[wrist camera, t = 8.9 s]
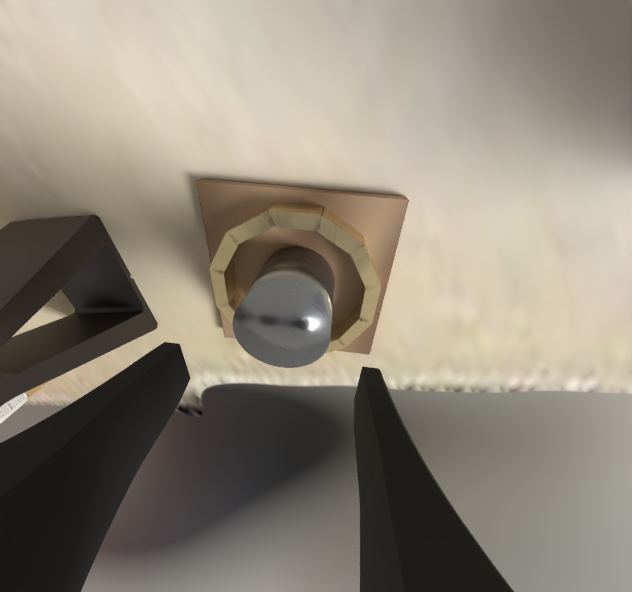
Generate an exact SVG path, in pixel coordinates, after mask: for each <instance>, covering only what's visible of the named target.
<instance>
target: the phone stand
mask: <svg viewBox="0 0 632 592" xmlns="http://www.w3.org/2000/svg"><path fill="white" fill-rule="evenodd" d="M130 275H131V274H130V272H129V270H128V269H127V267H126V265H125V263H124V261H123V260H122V258H121V256H120V254H119V252H118V250H117V249H116V247H115V245H114V243H113V241H112V240H111V238H110V236H109V234H108V232H107V230H106V229H105V227H104V225H103V223H102V221H101V219H100V218H99V217H98V216H95V215H91V216H79V217H66V218H53V219H40V220H27V221H14V222H10V223H9V224H7V225H6V226H5V227H4V228H2V229H1V230H0V407H1V406H2V405H4V404H5V403H7V402H8V401H10V400H12V399H13V398H15V397H17V396H19V395H21V394H23V393H25V392H27V391H29V390H31V389H33V388H35V387H37V386H39V385H41V384H43V383H46V382H48V381H50V380H52V379H54V378H56V377H58V376H60V375H62V374H64V373H66V372H68V371H70V370H72V369H74V368H77V367H79V366H81V365H83V364H85V363H87V362H89V361H91V360H93V359H95V358H97V357H99V356H101V355H103V354H105V353H107V352H110V351H112V350H114V349H116V348H118V347H120V346H122V345H124V344H126V343H128V342H130V341H132V340H134V339H136V338H138V337H141V336H143V335H145V334H147V333H149V332H151V331H153V330H155V329H156V328H157V322H156V320H155V318H154V316H153V314H152V312H151V311H150V309H149V307H148V305H147V303H146V301H145V300H144V298H143V296H142V294H141V292H140V291H139V289H138V287H137V285H136V283H135V281H134V280H133V279H132V280H131V279H130ZM60 289H61V290H62V291H63V292H64V294H65V295H66V296H67V298H68V299H69V300H70V302H71V303H72V304H73V306H74V307H75V313H74V314H72V315H70V316H67V317H64V318H62V319H59V320H56V321H54V322H51V323H48V324H46V325H43V326H40V327H38V328H35V329H32V330H30V331H27V332H25V333H22V334H19V335H17V336H14V337H12V336H13V335H14V334H15V333H16V332H17V331H18V330H19V329H20V328H21V327H22V326H23V325H24V324H25V323H26V322H27V321H28V320H29V319H30V318H31V317H32V316H33V315H34V314H35V313H36V312H38V311H39V310H40V309H41V308H42V307H43V306H44V305H45V304H46V303H47V302H48V301H49V300H50V299H51V298H52V297H53V296H54V295H55V294H56V293H57V292H58V291H59V290H60Z"/></svg>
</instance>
